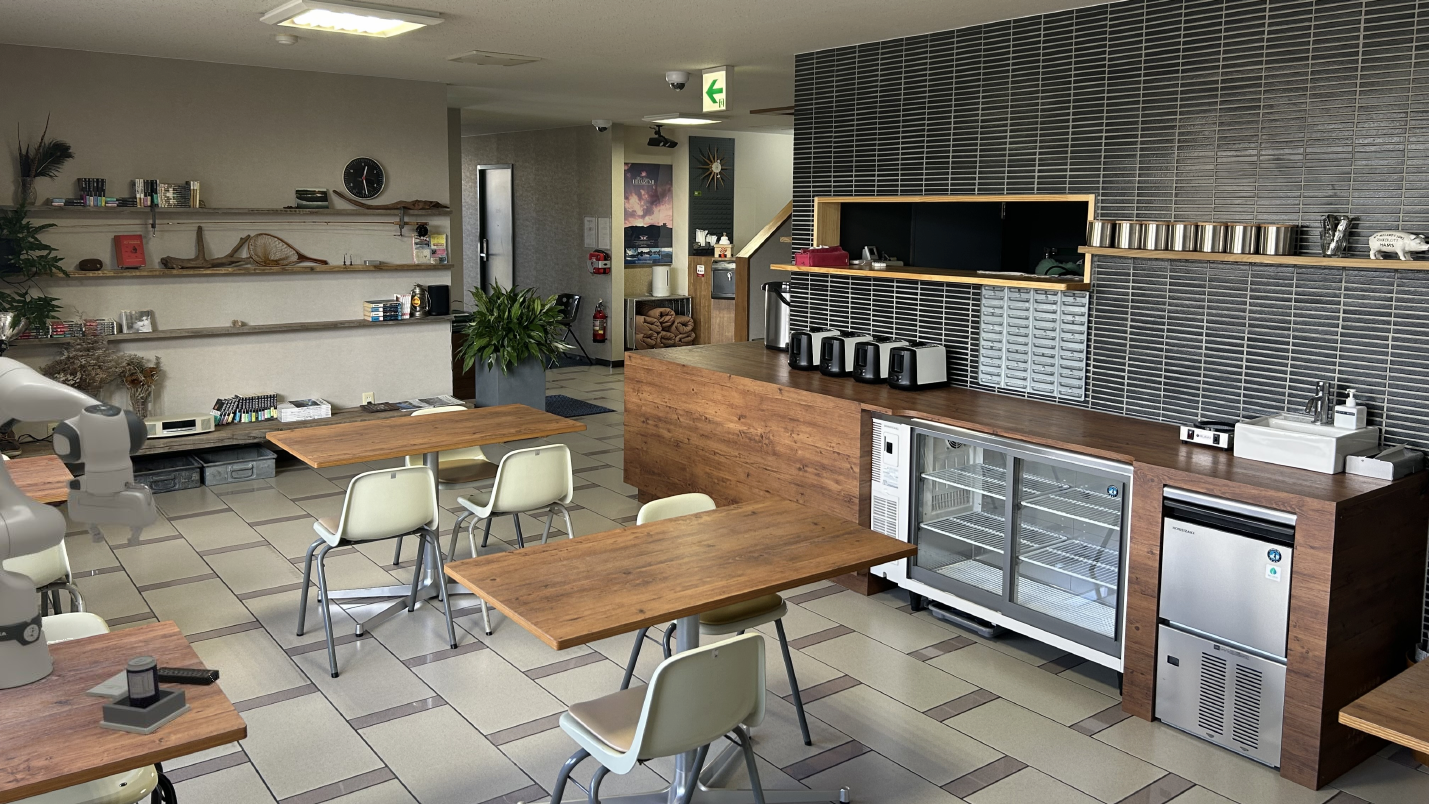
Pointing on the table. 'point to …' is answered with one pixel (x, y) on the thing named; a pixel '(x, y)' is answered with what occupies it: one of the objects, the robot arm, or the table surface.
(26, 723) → the table surface
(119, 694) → the external hard drive
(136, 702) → the beverage can
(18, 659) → the robot arm
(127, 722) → the square holder
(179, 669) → the multiport hub
